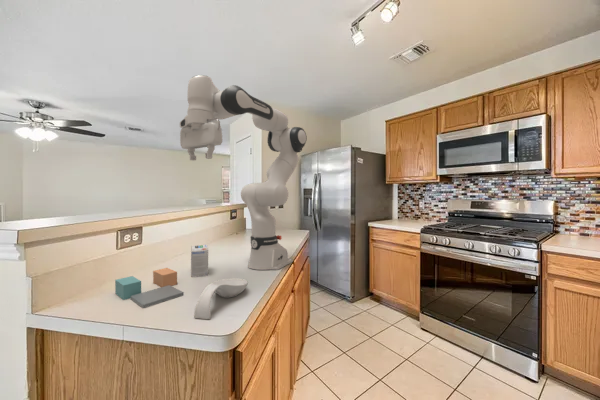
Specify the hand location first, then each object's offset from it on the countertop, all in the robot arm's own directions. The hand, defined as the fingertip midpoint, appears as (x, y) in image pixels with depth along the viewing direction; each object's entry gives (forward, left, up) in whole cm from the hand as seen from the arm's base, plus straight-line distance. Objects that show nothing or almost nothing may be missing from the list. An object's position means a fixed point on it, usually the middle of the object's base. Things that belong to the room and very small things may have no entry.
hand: (200, 159), depth 90 cm
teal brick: (+20, -11, -46) cm, 52 cm away
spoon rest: (+3, +18, -47) cm, 50 cm away
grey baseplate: (+15, -1, -46) cm, 48 cm away
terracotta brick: (+8, -11, -46) cm, 48 cm away
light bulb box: (-7, -13, -46) cm, 49 cm away
